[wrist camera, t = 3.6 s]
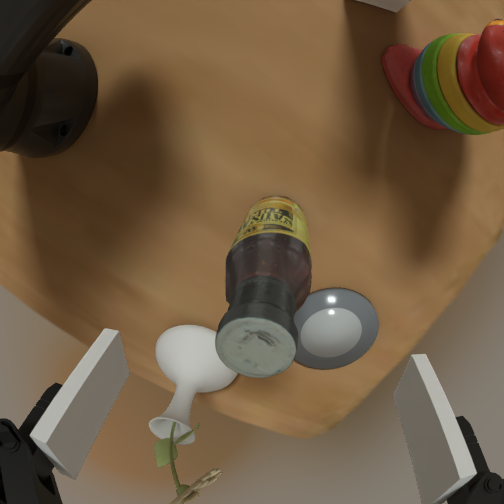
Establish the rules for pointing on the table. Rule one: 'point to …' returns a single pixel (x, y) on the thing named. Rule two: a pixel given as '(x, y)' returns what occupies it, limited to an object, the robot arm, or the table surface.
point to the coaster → (334, 328)
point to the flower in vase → (186, 395)
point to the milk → (387, 4)
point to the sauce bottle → (265, 289)
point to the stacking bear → (452, 80)
